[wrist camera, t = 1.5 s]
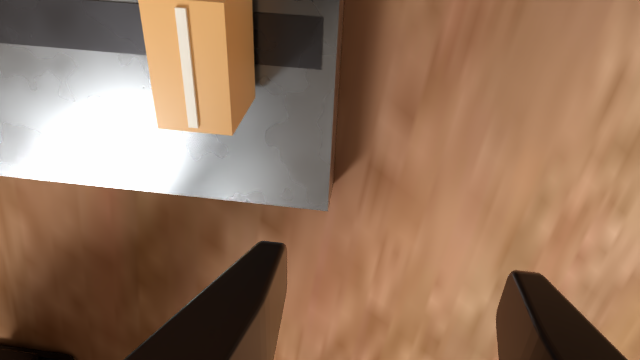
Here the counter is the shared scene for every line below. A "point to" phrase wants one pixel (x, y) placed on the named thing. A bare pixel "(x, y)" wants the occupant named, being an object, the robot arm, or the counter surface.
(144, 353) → the robot arm
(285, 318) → the counter surface
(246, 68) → the fader tab
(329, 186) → the console
